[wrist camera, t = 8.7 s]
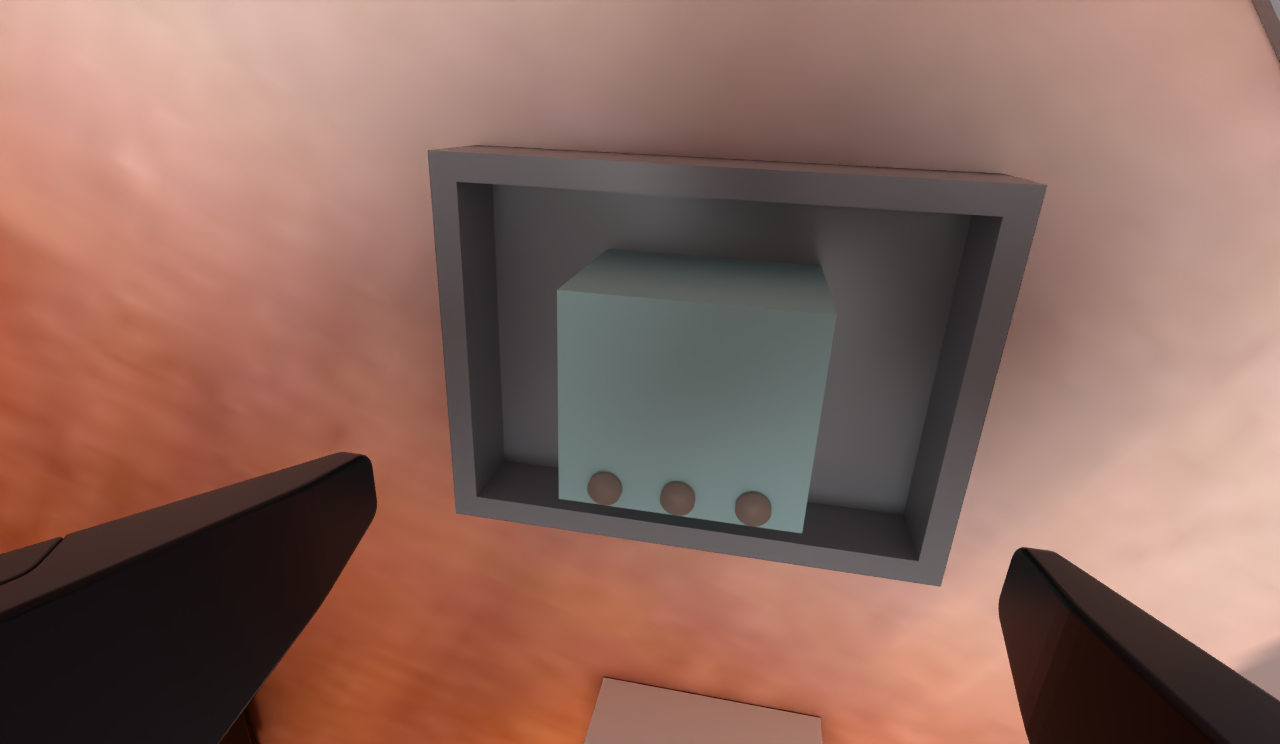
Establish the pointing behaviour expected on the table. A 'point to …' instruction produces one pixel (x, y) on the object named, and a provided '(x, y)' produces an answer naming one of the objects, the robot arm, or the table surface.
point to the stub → (692, 385)
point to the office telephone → (1270, 20)
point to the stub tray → (749, 230)
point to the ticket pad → (690, 719)
